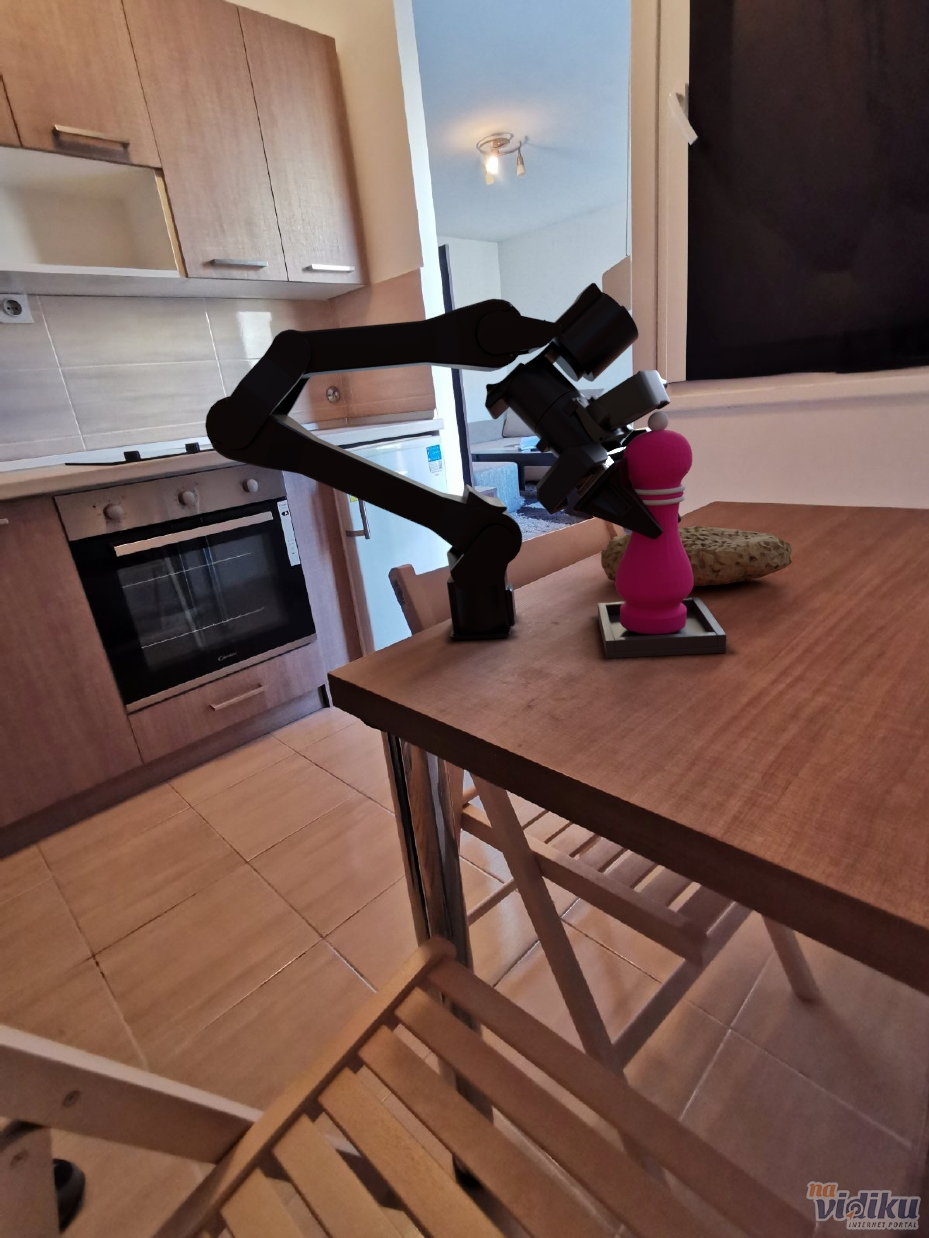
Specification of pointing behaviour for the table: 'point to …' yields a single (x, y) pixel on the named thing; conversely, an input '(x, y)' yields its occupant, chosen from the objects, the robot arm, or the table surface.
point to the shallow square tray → (692, 639)
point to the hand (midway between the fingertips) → (668, 529)
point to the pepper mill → (659, 566)
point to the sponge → (717, 554)
